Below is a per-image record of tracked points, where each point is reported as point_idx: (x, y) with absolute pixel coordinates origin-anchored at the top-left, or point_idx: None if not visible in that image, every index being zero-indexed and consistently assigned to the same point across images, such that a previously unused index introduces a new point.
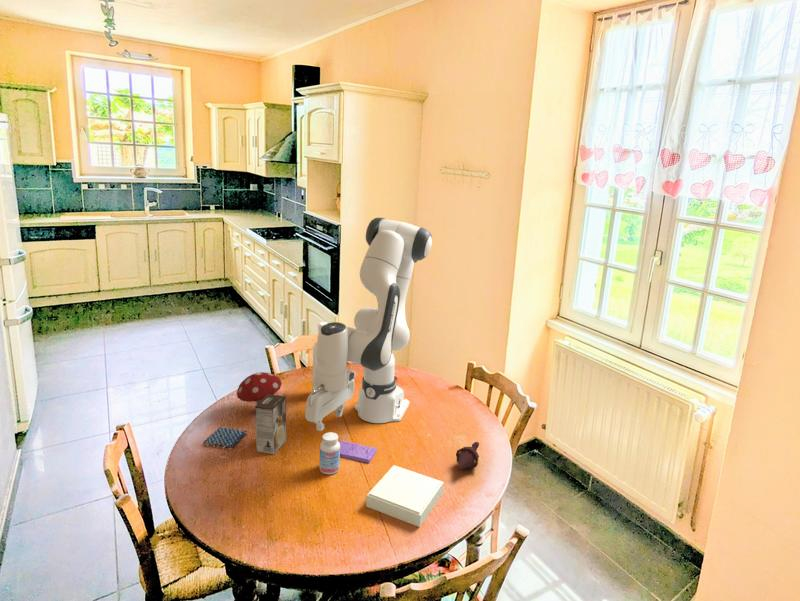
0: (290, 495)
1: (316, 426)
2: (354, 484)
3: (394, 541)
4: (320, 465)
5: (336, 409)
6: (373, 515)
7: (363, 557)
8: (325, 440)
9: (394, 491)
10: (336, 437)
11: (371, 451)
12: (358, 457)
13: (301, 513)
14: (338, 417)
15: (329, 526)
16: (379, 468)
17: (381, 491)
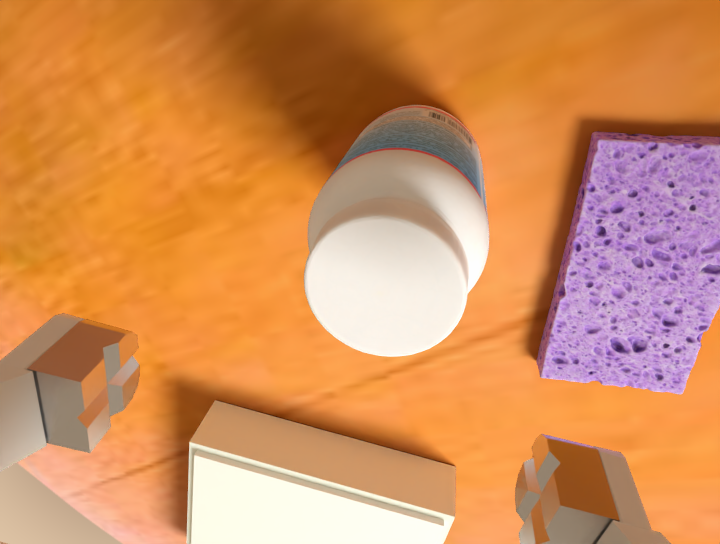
0: (99, 41)
1: (29, 338)
2: None
3: (115, 490)
4: (358, 137)
5: (613, 529)
6: (184, 427)
7: None
8: (307, 263)
9: (254, 531)
10: (383, 349)
11: (637, 372)
12: (554, 316)
13: (31, 164)
14: (521, 470)
15: (46, 301)
16: (498, 411)
17: (231, 492)
